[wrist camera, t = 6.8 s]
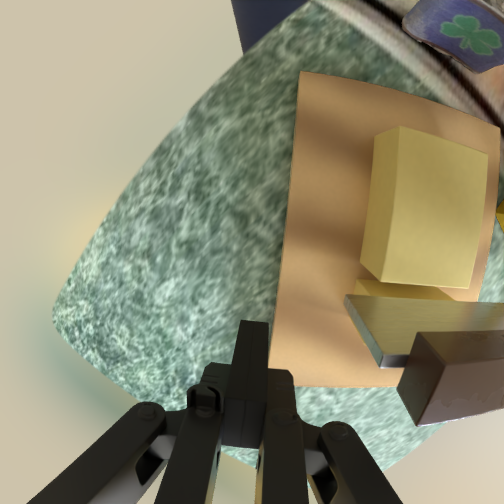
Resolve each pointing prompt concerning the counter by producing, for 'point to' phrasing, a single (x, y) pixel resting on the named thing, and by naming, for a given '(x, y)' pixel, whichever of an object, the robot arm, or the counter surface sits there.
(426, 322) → the dough scraper
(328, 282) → the butter board
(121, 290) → the counter surface
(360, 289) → the butter pat
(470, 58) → the flask
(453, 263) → the butter block
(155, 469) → the robot arm
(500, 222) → the soap bottle
